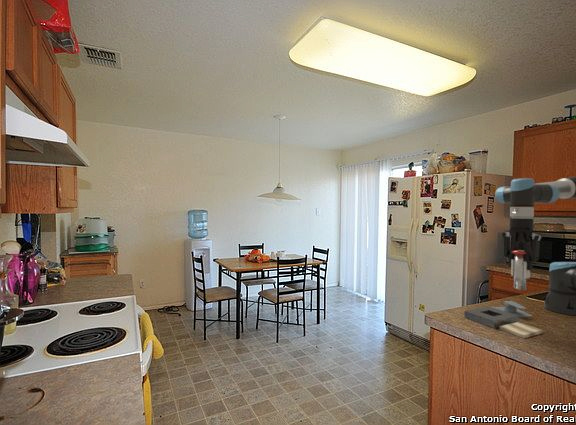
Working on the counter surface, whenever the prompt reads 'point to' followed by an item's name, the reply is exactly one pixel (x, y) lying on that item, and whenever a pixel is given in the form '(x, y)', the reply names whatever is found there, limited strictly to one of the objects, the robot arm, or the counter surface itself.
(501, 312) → the eye plate
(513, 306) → the shower valve
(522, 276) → the red mushroom button
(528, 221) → the robot arm
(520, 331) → the birch pad
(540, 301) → the counter surface
